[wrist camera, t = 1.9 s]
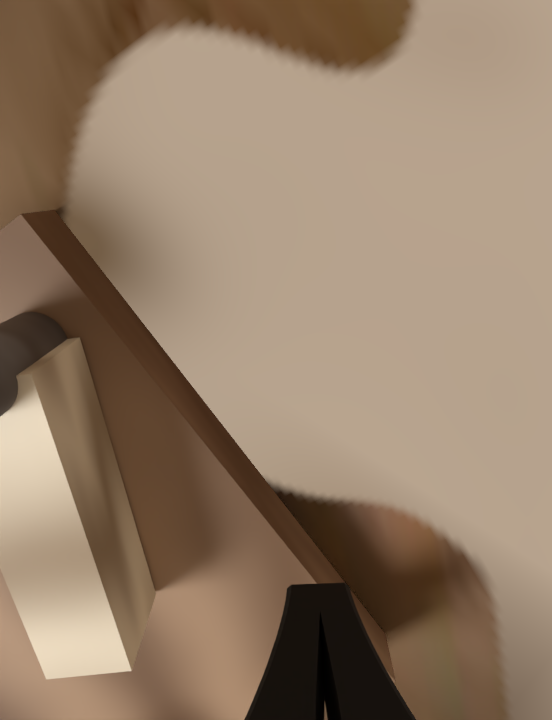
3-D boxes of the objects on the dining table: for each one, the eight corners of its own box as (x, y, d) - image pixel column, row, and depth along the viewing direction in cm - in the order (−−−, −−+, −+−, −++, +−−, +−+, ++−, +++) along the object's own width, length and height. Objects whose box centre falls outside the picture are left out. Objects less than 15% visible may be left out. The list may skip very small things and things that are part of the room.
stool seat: (96, 770, 23) (33, 963, 17) (-261, 457, 18) (-517, 585, 12) (385, 634, 20) (424, 813, 14) (54, 209, 15) (-89, 227, 9)
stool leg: (-18, 319, 14) (-126, 367, 10) (70, 305, 14) (-8, 349, 10) (83, 601, 17) (29, 714, 13) (156, 593, 17) (120, 705, 13)
